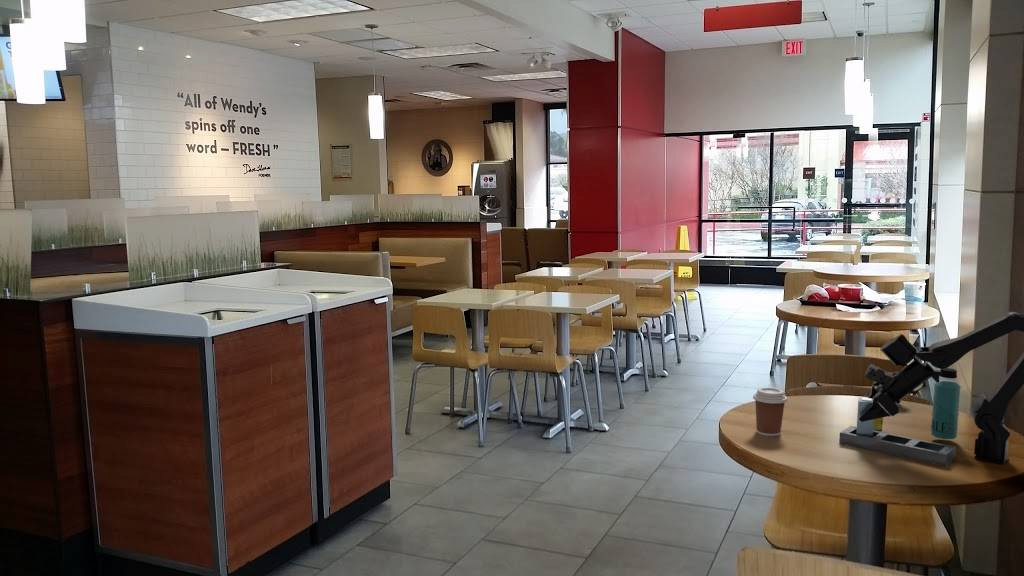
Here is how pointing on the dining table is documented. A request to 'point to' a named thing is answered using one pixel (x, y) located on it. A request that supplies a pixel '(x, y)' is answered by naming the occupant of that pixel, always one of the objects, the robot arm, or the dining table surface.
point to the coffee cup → (769, 410)
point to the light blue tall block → (866, 426)
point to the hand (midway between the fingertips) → (859, 415)
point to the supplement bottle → (878, 424)
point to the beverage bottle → (945, 406)
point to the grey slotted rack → (900, 446)
